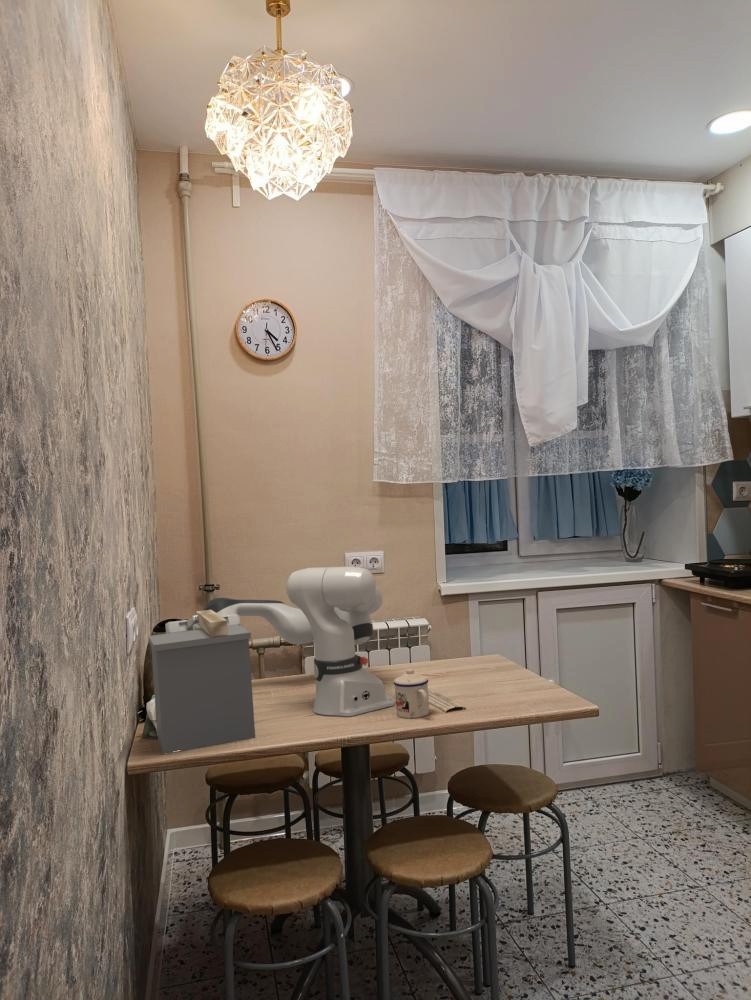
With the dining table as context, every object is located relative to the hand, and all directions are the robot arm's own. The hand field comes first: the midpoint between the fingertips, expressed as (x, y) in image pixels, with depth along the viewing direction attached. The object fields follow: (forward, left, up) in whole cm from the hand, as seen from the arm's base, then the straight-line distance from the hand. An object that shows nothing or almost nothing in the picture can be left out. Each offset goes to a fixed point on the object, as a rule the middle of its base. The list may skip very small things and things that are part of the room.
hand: (205, 616), depth 198 cm
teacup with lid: (-48, +26, -29) cm, 62 cm away
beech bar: (0, +9, -2) cm, 9 cm away
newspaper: (-59, +17, -29) cm, 68 cm away
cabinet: (+4, +13, -28) cm, 32 cm away
